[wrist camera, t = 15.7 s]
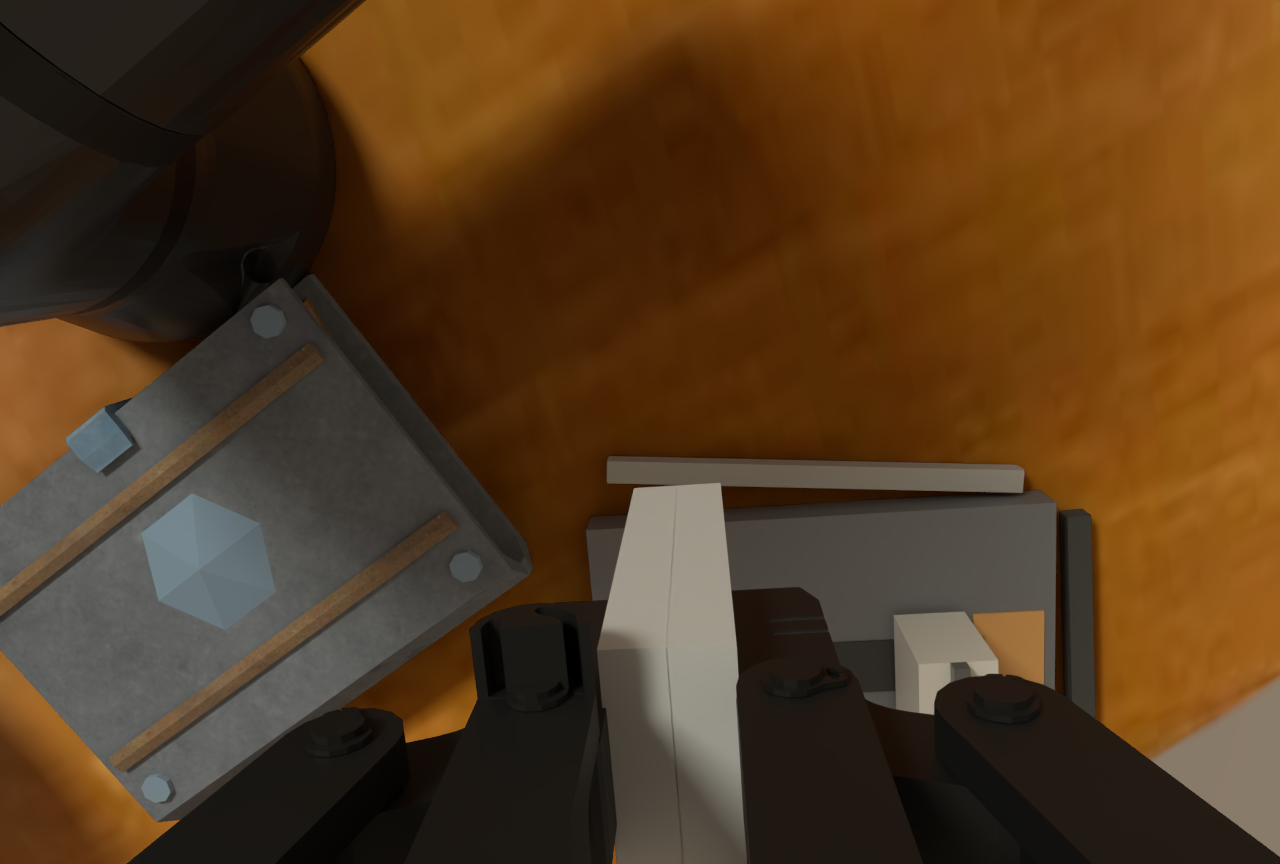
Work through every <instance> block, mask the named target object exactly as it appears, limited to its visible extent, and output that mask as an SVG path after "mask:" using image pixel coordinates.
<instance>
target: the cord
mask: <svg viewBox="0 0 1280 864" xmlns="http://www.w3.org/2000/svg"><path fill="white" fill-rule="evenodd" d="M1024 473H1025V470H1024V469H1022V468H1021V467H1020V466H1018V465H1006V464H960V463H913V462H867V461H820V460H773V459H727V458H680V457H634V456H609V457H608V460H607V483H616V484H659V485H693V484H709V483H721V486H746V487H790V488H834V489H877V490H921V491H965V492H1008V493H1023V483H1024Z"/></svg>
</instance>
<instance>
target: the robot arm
mask: <svg viewBox="0 0 1280 864" xmlns="http://www.w3.org/2000/svg"><path fill="white" fill-rule="evenodd" d="M365 1H366V0H0V327H2V326H8V325H15V324H21V323H27V322H34V321H40V320H46V319H52V318H57V319H60V320H63V321H66V322H69V323H71V324H74V325H77V326H80V327H83V328H86V329H89V330H91V331H94V332H97V333H100V334H103V335H107V336H110V337H114V338H119V339H124V340H130V341H138V342H155V343H166V342H179V341H187V340H192V339H197V338H201V337H206V336H210V335H211V334H212V333H213V332H214V331H216V330H217V329H218V328H219V327H221V326H222V325H223V324H224V323H226V322H227V321H228V320H229V319H230V318H232V317H233V316H234V315H235V314H237V313H238V312H239V311H240V310H241V309H243V308H244V307H245V306H246V305H248V304H249V303H250V302H251V301H252V300H254V299H255V298H256V297H257V296H259V295H260V294H261V293H262V292H263V291H265V290H266V289H267V288H268V287H270V286H271V285H272V284H273V283H274V282H276V281H277V280H278V279H280V278H284V280H285V281H286V282H287V283H288V285H289V286H290V287H291V288H293V287H294V286H295V285H297V284H298V283H299V282H300V280H301V279H302V278H303V276H304V275H305V274H306V272H307V271H308V269H309V268H310V266H311V264H312V263H313V261H314V259H315V257H316V255H317V254H318V252H319V249H320V247H321V245H322V243H323V240H324V237H325V235H326V232H327V229H328V225H329V222H330V218H331V214H332V208H333V203H334V195H335V182H336V167H335V153H334V145H333V140H332V134H331V130H330V126H329V122H328V118H327V115H326V112H325V109H324V106H323V103H322V101H321V98H320V96H319V93H318V91H317V89H316V87H315V85H314V83H313V81H312V79H311V77H310V76H309V74H308V72H307V70H306V68H305V67H304V65H303V64H302V62H301V61H300V59H299V57H300V56H301V55H303V54H304V53H305V52H306V51H307V50H308V49H310V48H311V47H312V46H313V45H314V44H315V43H317V42H318V41H319V40H320V39H321V38H322V37H324V36H325V35H326V34H327V33H328V32H330V31H331V30H332V29H333V28H334V27H335V26H337V25H338V24H339V23H340V22H341V21H342V20H344V19H345V18H346V17H347V16H348V15H349V14H351V13H352V12H353V11H354V10H355V9H356V8H358V7H359V6H360V5H361V4H362V3H363V2H365ZM469 631H470V639H471V647H472V656H473V664H474V672H475V680H476V688H477V697H478V700H477V702H476V704H475V706H474V709H473V711H472V713H471V715H470V717H469V720H468V722H467V724H466V726H465V728H463V729H461V730H458V731H455V732H452V733H448V734H444V735H441V736H437V737H432V738H427V739H423V740H418V741H413V742H409V743H406V742H405V735H404V728H403V721H402V719H400V718H399V717H398V716H396V715H395V714H394V713H392V712H389V711H384V710H380V709H375V708H367V709H358V708H356V707H351V708H343V709H342V711H339V709H338V710H334V711H330V712H327V713H325V714H323V715H322V716H321V717H318V718H315V719H313V720H310V721H308V722H305V723H303V724H302V725H300V726H299V727H297V728H295V729H294V730H292V731H290V732H289V733H287V734H286V735H285V736H283V737H282V738H281V739H280V740H279V741H277V742H276V743H275V744H274V745H272V746H271V747H270V748H269V749H267V750H266V751H265V752H264V753H262V754H261V755H260V756H259V757H258V758H256V759H255V760H254V761H253V762H251V763H250V764H249V765H248V766H246V767H245V768H244V769H243V770H242V771H240V772H239V773H238V774H237V775H235V776H234V777H233V778H232V779H230V780H229V781H228V782H227V783H226V784H224V785H223V786H222V787H221V788H219V789H218V790H217V791H216V792H214V793H213V794H212V795H211V796H210V797H208V798H207V799H206V800H205V801H203V802H202V803H201V804H200V805H198V806H197V807H196V808H195V809H194V810H192V811H191V812H190V813H189V814H187V815H186V816H185V817H184V818H182V819H181V820H180V821H179V822H178V823H176V824H175V825H174V826H173V827H171V828H170V829H169V830H168V831H166V832H165V833H164V834H163V835H162V836H160V837H159V838H158V839H157V840H155V841H154V842H153V843H152V844H150V845H149V846H148V847H147V848H146V849H144V850H143V851H142V852H141V853H139V854H138V855H137V856H136V857H134V858H133V859H132V860H131V861H130V862H128V863H127V864H612V859H613V852H614V844H615V849H616V859H617V864H1280V857H1279V856H1278V855H1276V854H1275V853H1274V852H1272V851H1271V850H1270V849H1268V848H1267V847H1266V846H1264V845H1263V844H1262V843H1260V842H1259V841H1257V840H1256V839H1255V838H1254V837H1252V836H1251V835H1250V834H1248V833H1247V832H1246V831H1244V830H1243V829H1242V828H1240V827H1239V826H1238V825H1236V824H1235V823H1234V822H1232V821H1231V820H1230V819H1228V818H1227V817H1226V816H1224V815H1223V814H1222V813H1220V812H1219V811H1218V810H1216V809H1215V808H1214V807H1212V806H1211V805H1209V804H1208V803H1207V802H1206V801H1204V800H1203V799H1201V798H1200V797H1199V796H1198V795H1196V794H1195V793H1194V792H1192V791H1191V790H1189V789H1188V788H1187V787H1185V786H1184V785H1183V784H1182V783H1180V782H1179V781H1177V780H1176V779H1175V778H1174V777H1172V776H1171V775H1170V774H1168V773H1167V772H1166V771H1164V770H1163V769H1161V768H1160V767H1159V766H1158V765H1156V764H1155V763H1154V762H1152V761H1151V760H1149V759H1148V758H1147V757H1145V756H1144V755H1143V754H1141V753H1140V752H1139V751H1137V750H1136V749H1135V748H1133V747H1132V746H1131V745H1129V744H1128V743H1127V742H1125V741H1124V740H1123V739H1121V738H1120V737H1119V736H1117V735H1116V734H1115V733H1113V732H1112V731H1111V730H1109V729H1108V728H1107V727H1105V726H1104V725H1103V724H1101V723H1100V722H1099V721H1097V720H1096V719H1095V718H1093V717H1092V716H1091V715H1089V714H1088V713H1087V712H1085V711H1084V710H1083V709H1081V708H1080V707H1079V706H1077V705H1076V704H1075V703H1073V702H1072V701H1071V700H1069V699H1068V698H1067V697H1065V696H1064V695H1062V694H1061V693H1059V692H1057V691H1055V690H1053V689H1051V688H1049V687H1047V686H1046V685H1043V684H1040V683H1036V682H1033V681H1029V680H1026V679H1023V678H1022V677H1019V676H1014V675H1007V674H1006V676H1003V674H986V675H985V676H974V677H967V678H963V679H960V680H957V681H953V682H950V683H948V684H947V685H946V686H944V687H943V688H941V689H940V690H939V691H937V694H936V698H935V702H934V715H932V714H924V713H916V712H908V711H903V710H897V709H892V708H888V707H885V706H881V705H878V704H875V703H872V702H870V701H868V700H866V699H865V697H864V694H863V691H862V689H861V686H860V683H859V680H858V679H857V678H856V676H855V675H854V674H853V673H852V671H851V670H849V669H847V668H845V667H843V666H841V665H840V663H839V660H838V657H837V654H836V651H835V648H834V644H833V641H832V638H831V635H830V632H829V631H828V626H827V623H826V620H825V619H824V614H823V611H822V608H821V605H820V602H819V600H818V599H817V598H815V597H814V596H812V595H811V594H809V593H808V592H807V591H805V590H804V589H802V588H801V587H787V588H768V589H749V590H731V583H730V573H729V563H728V552H727V542H726V532H725V522H724V512H723V502H722V492H721V483H709V484H693V485H677V486H661V487H644V488H634V490H633V494H632V499H631V503H630V508H629V512H628V516H627V521H626V525H625V529H624V534H623V538H622V543H621V547H620V551H619V556H618V560H617V565H616V569H615V573H614V578H613V582H612V586H611V591H610V595H609V600H595V601H577V602H558V603H554V604H551V603H536V604H528V605H520V606H514V607H511V608H507V609H504V610H500V611H497V612H494V613H492V614H490V615H488V616H486V617H484V618H482V619H480V620H478V621H477V622H476V623H475V624H474V625H473V626H472V627H471V628H470V629H469Z"/></svg>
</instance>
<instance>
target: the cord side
mask: <svg viewBox="0 0 1280 864" xmlns="http://www.w3.org/2000/svg"><path fill="white" fill-rule="evenodd" d="M1059 526H1060V563H1061V600H1062V636H1063V673H1064V696H1065V697H1067V698H1068V699H1069V700H1071V701H1072V702H1073V703H1075V704H1076V705H1077V706H1079V707H1080V708H1081V709H1083V710H1084V711H1085V712H1087V713H1088V714H1089V715H1091V716H1092V717H1093V718H1095V676H1094V627H1093V578H1092V528H1091V515H1090V514H1088V513H1087V512H1086V511H1084V510H1083V509H1076V510H1065V511H1059Z"/></svg>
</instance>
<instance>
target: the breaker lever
mask: <svg viewBox="0 0 1280 864" xmlns="http://www.w3.org/2000/svg"><path fill="white" fill-rule="evenodd" d="M894 648H895V686H896V709H897V710H903V711H908V712H916V713H924V714H932V715H934V702H935V698H936V694H937V691H939V690H940V689H941V688H943V687H944V686H946V685H947V684H948V683H950V682H953V681H957V680H960V679H963V678H967V677H974V676H985V675H986V674H998V659H997V658H996V656H995V655H994V653H993V652H992V651H991V649H990V648H989V646H988V645H987V643H986V642H985V640H984V639H983V638H982V636H981V635H980V633H979V632H978V630H977V629H976V627H975V626H974V625H973V623H972V622H971V620H970V619H969V617H968V616H967V614H966V613H965V612H944V613H925V614H905V615H894Z"/></svg>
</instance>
